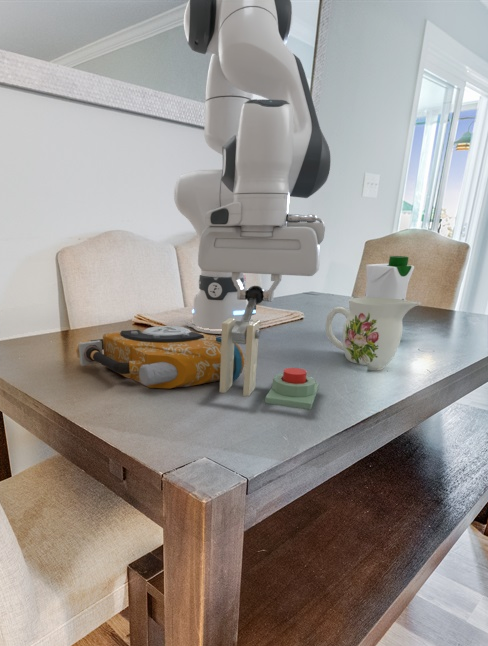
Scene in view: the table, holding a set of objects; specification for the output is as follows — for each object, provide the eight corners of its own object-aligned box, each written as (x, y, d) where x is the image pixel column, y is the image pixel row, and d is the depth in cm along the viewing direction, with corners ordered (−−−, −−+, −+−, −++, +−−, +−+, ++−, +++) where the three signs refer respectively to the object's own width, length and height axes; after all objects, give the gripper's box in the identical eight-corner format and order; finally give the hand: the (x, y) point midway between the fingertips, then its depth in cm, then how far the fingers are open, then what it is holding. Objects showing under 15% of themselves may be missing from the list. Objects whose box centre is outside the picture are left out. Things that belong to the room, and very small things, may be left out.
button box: (276, 389, 81) (278, 368, 79) (317, 395, 79) (320, 373, 77) (264, 410, 72) (266, 386, 71) (309, 417, 70) (312, 392, 68)
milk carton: (380, 345, 110) (394, 258, 103) (351, 336, 118) (363, 255, 110) (404, 340, 114) (420, 256, 107) (375, 333, 122) (388, 254, 114)
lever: (249, 296, 82) (247, 281, 80) (266, 297, 81) (266, 282, 79) (229, 345, 74) (227, 329, 72) (248, 347, 73) (247, 331, 71)
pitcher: (334, 351, 105) (342, 289, 100) (416, 368, 93) (430, 299, 88) (309, 361, 97) (316, 295, 92) (395, 380, 86) (409, 306, 81)
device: (133, 359, 68) (66, 327, 92) (136, 411, 71) (70, 367, 95) (251, 340, 79) (164, 316, 103) (249, 385, 82) (165, 352, 106)
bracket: (223, 384, 83) (225, 314, 79) (266, 390, 81) (272, 317, 76) (205, 403, 75) (207, 325, 70) (253, 411, 72) (258, 330, 67)
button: (284, 376, 76) (285, 366, 76) (307, 379, 75) (308, 369, 74) (280, 383, 73) (281, 372, 72) (303, 386, 72) (305, 375, 71)
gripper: (328, 214, 74) (318, 301, 79) (207, 214, 81) (205, 294, 86) (324, 214, 68) (314, 307, 74) (195, 213, 75) (194, 299, 80)
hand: (254, 300), depth 80 cm, fingers closed on lever, 3 cm apart
